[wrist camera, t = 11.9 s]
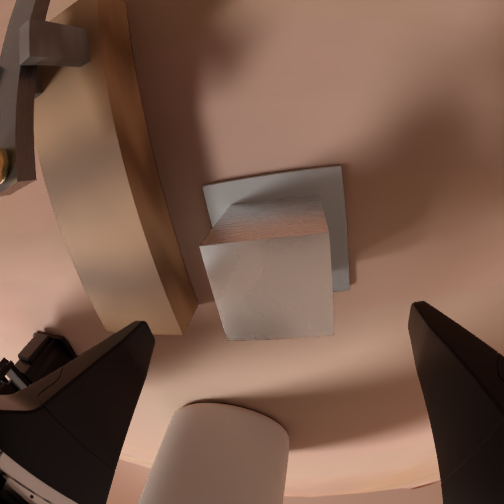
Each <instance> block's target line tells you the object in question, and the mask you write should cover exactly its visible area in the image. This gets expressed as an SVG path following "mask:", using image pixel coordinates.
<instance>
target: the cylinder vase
mask: <svg viewBox="0 0 504 504" xmlns="http://www.w3.org/2000/svg"><path fill="white" fill-rule="evenodd" d="M289 445H290V440H289V436H288V434H287V432H286V431H285V429H284V428H283V427H282V426H281V425H280V424H278V423H277V422H276V421H274V420H272V419H271V418H269V417H267V416H265V415H262V414H260V413H258V412H255V411H252V410H249V409H245V408H242V407H237V406H233V405H227V404H219V403H196V404H191V405H187V406H184V407H182V408H180V409H179V410H177V411H176V412H175V413H174V415H173V416H172V419H171V421H170V424H169V426H168V429H167V431H166V434H165V436H164V439H163V441H162V444H161V446H160V449H159V451H158V454H157V456H156V459H155V461H154V464H153V466H152V469H151V472H150V474H149V477H148V479H147V481H146V484H145V487H144V489H143V492H142V494H141V497H140V499H139V502H138V504H282V503H283V496H284V488H285V480H286V472H287V463H288V454H289Z"/></svg>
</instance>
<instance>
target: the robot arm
mask: <svg viewBox="0 0 504 504" xmlns="http://www.w3.org/2000/svg"><path fill="white" fill-rule="evenodd" d="M408 330H409V334H410V339H411V344H412V349H413V354H414V360H415V365H416V370H417V374H418V377H419V381H420V384H421V388H422V392H423V395H424V399H425V403H426V407H427V411H428V415H429V419H430V424H431V428H432V433H433V438H434V443H435V448H436V453H437V459H438V465H439V472H440V479H441V482H442V483H441V487H442V495H443V504H504V356H502V355H501V354H500V353H498V352H497V351H496V350H494V349H493V348H491V347H490V346H489V345H487V344H486V343H485V342H483V341H482V340H480V339H479V338H478V337H476V336H475V335H473V334H472V333H471V332H469V331H468V330H466V329H465V328H463V327H462V326H461V325H459V324H458V323H456V322H455V321H453V320H452V319H450V318H449V317H447V316H446V315H444V314H443V313H441V312H440V311H439V310H437V309H436V308H434V307H433V306H431V305H429V304H428V303H426V302H425V301H419V302H414V303H412V305H411V309H410V316H409V322H408ZM154 345H155V338H154V336H153V334H152V332H151V330H150V328H149V325H148V324H147V322H146V321H134V322H132V323H131V324H129V325H128V326H126V327H124V328H123V329H121V330H120V331H118V332H116V333H115V334H113V335H112V336H110V337H108V338H107V339H105V340H104V341H102V342H100V343H99V344H97V345H96V346H94V347H92V348H91V349H89V350H88V351H86V352H85V353H83V354H81V355H80V356H78V357H76V355H75V354H74V352H73V351H72V349H71V348H70V346H69V344H68V343H67V341H66V340H65V339H64V338H63V337H60V336H54V335H48V334H42V333H36V332H35V333H34V334H33V339H32V340H31V341H30V342H29V343H28V344H27V345H26V346H25V347H24V349H23V350H22V351H21V352H20V353H19V354H18V358H19V360H18V362H17V363H16V364H15V365H14V363H13V362H12V361H10V362H9V361H8V360H7V359H5V358H3V359H2V360H1V362H0V504H77V503H78V504H106V502H107V498H108V494H109V491H110V487H111V484H112V480H113V477H114V473H115V471H114V470H115V469H116V466H117V462H118V460H119V456H120V453H121V450H122V447H123V444H124V440H125V437H126V434H127V431H128V428H129V425H130V422H131V419H132V416H133V413H134V410H135V408H136V405H137V402H138V399H139V396H140V393H141V390H142V388H143V385H144V382H145V379H146V376H147V372H148V368H149V364H150V360H151V356H152V353H153V349H154ZM5 375H7V376H8V377H9V378H10V379H11V380H9V381H8V380H7V379H6V378H5Z"/></svg>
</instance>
